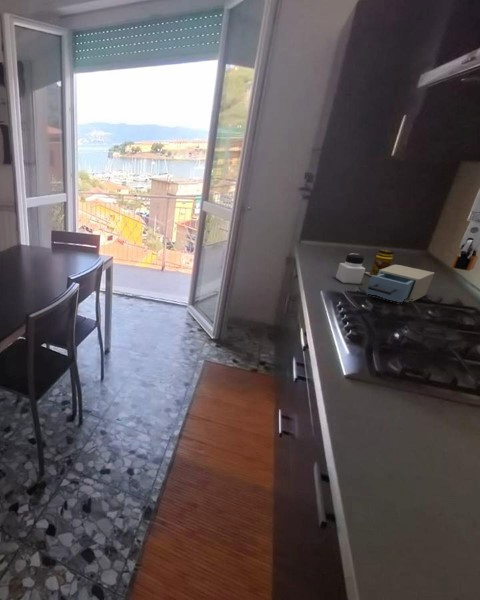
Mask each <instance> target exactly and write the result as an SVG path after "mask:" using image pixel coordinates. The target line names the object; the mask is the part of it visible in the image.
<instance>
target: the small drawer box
mask: <svg viewBox="0 0 480 600" xmlns="http://www.w3.org/2000/svg"><path fill="white" fill-rule="evenodd" d="M382 273H386V274H390V275H395V276H399V277H403V278H407V279H411V280H416V282H415V284H414V287H413V289H412V292H411V294H410V297H409V298H407V299H405V300H403V302H405V303H409V301H412V302H414V301H417V300H418V299H421V298H423V297H425V296H426V294H427V293H428V290H429V287H430V285H431V283H432V280H433V278H434V275H435V272H433V271H429V270H424V269H420V268H414V267H410V266H406V265H401V264H391V266H389V267H387V268H384V269H381V270H379V273H378V275H380V274H382ZM408 299H413V300H408Z"/></svg>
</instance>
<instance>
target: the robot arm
mask: <svg viewBox="0 0 480 600" xmlns="http://www.w3.org/2000/svg"><path fill="white" fill-rule="evenodd" d="M466 221H468V222H469V224H468V226H467V228H466V230H465V232H464V234H463V236H462V238H461V240H460V243H459V249H460V252H459V254H460V255H459V254H458V255H459V257H458V259H457V261H456V264H455V266H454V268H453V269H456V268H457V270H462V271H467V270H466V269H467V267H468V265H469V262H470V260H471V259H470V257H471V255H472V256H478V252H480V188H479V189H478V191H477V194H476V196H475V198H474V201H473V203H472V206H471V208H470V210H469V213H468V216H467V219H466Z"/></svg>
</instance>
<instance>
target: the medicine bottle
mask: <svg viewBox="0 0 480 600" xmlns="http://www.w3.org/2000/svg"><path fill="white" fill-rule="evenodd" d="M364 260H365V256H364V255H362V254H360V253H348V254H347V255H346V258H345V261H344V262H339V265H338V267H337V271H336V275H335V278H336V279H337V280H338V281H340V282H341V283H342V284H353V285H354V284H358V285H362V281H363V280H364V279H363V278H364V276H365V274H366V273H365V272H366V269H367V268H365V267H364V266H363V263H364Z"/></svg>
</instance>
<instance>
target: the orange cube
mask: <svg viewBox="0 0 480 600" xmlns="http://www.w3.org/2000/svg"><path fill="white" fill-rule="evenodd" d="M459 255H460V253H459V254H457V255H456V256H455V258H454V261H453V263H452V266H451V268H452V269H457V268H454V266H455V264H456V261H457V259H458V257H459ZM478 258H479V256H478V255H476V256H472V255H471V257H470V259H471V260H470V262H469V265H468V267H467V269H466V270H465V271H467V272H468V271H471V270H473V269H474V267H475V265H476V264H477V261H478ZM457 270H458V269H457Z"/></svg>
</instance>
